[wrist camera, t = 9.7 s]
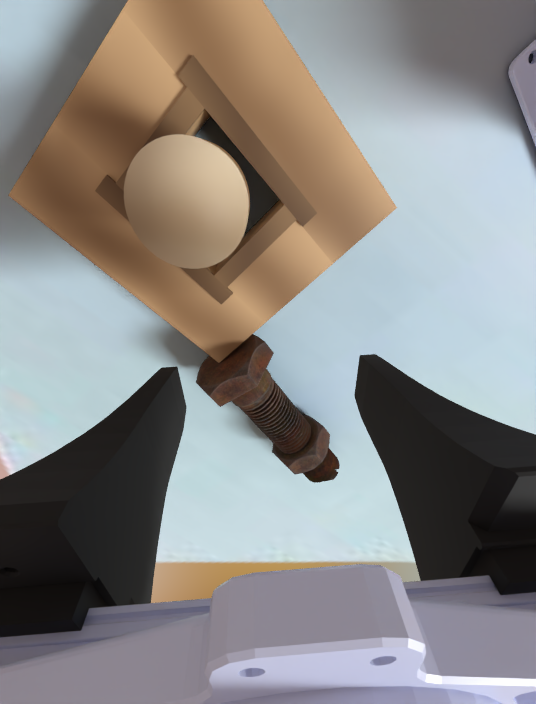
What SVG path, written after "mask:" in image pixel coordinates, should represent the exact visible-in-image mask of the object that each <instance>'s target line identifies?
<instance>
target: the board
mask: <svg viewBox="0 0 536 704" xmlns="http://www.w3.org/2000/svg"><path fill="white" fill-rule="evenodd" d="M210 116H211V117H212V118H213V119H214V120H215V122H216V123H217V124H218V125H219V126H220V128H221V129H222V130H223V131H224V133H225V134H226V135H227V136H228V137H229V139H230V140H231V141H232V142H233V143H234V145H235V146H236V147H237V148H238V149H239V151H240V152H241V153H242V154H243V155H244V157H245V158H246V159H247V160H248V162H249V163H250V164H251V165H252V166H253V168H254V169H255V170H256V171H257V172H258V174H259V175H260V176H261V177H262V178H263V180H264V181H265V182H266V183H267V184H268V186H269V187H270V188H271V189H272V191H273V192H274V193H275V194H276V195H277V197H278V198H279V199H280V200H279V201H278V202H277V203H276V204H275V205H274V206H273V207H272V208H271V209H270V210H269V211H268V212H267V213H266V214H265V215H264V216H263V217H262V218H261V219H260V220H259V221H258V222H257V223H256V224H255V225H254V226H253V227H252V228H251V229H250V230H249V231H248V232H247V233H246V234H245V235H244V236H243V238H242V239H241V242H240V243H239V245H238V246H237V248H236V249H235V250H234V251H233V252H232V253H231V254H230V255H229V256H228V257H227V258H226V259H224V260H223V261H221V262H219V263H217V264H215V265H213V266H209V267H206V268H200V269H189V268H182V267H177V266H175V265H172V264H169V263H167V262H165V261H163V260H161V259H160V258H158V257H157V256H155V255H154V254H153V253H152V252H150V251H149V250H148V249H147V248H146V247H145V246H144V245H143V243H142V242H141V241H140V240H139V238H138V237H137V235H136V234H135V232H134V230H133V228H132V226H131V224H130V222H129V219H128V216H127V213H126V209H125V203H124V183H125V178H126V174H127V171H128V168H129V166H130V164H131V162H132V160H133V159H134V157H135V156H136V154H137V153H138V152H139V151H140V150H141V149H142V148H143V147H144V146H146V145H147V144H148V143H150V142H151V141H153V140H155V139H157V138H160V137H163V136H167V135H175V134H183V135H190V136H195V135H196V134H197V132H198V131H199V130H200V129H201V127H202V126H203V125H204V124H205V122H206V121H207V120H208V119H209V117H210ZM8 196H10V197H11V198H12V199H13V200H15V201H16V202H17V203H18V204H20V205H21V206H22V207H23V208H25V209H26V210H27V211H28V212H30V213H31V214H32V215H33V216H35V217H36V218H37V219H38V220H40V221H41V222H42V223H43V224H45V225H46V226H47V227H49V228H50V229H51V230H52V231H54V232H55V233H56V234H57V235H59V236H60V237H61V238H62V239H64V240H65V241H66V242H67V243H69V244H70V245H71V246H72V247H74V248H75V249H76V250H77V251H79V252H80V253H81V254H82V255H84V256H85V257H86V258H88V259H89V260H90V261H91V262H93V263H94V264H95V265H96V266H98V267H99V268H100V269H101V270H103V271H104V272H105V273H106V274H108V275H109V276H110V277H111V278H113V279H114V280H115V281H116V282H118V283H119V284H120V285H121V286H123V287H124V288H125V289H127V290H128V291H129V292H130V293H132V294H133V295H134V296H135V297H137V298H138V299H139V300H140V301H142V302H143V303H144V304H145V305H147V306H148V307H149V308H150V309H152V310H153V311H154V312H155V313H157V314H158V315H159V316H160V317H162V318H163V319H164V320H165V321H167V322H168V323H169V324H171V325H172V326H173V327H174V328H176V329H177V330H178V331H179V332H181V333H182V334H183V335H184V336H186V337H187V338H188V339H189V340H191V341H192V342H193V343H194V344H196V345H197V346H198V347H199V348H201V349H202V350H203V351H204V352H206V353H207V354H208V355H210V356H211V357H212V358H213V359H215V360H216V361H217V362H218V363H220V362H221V361H222V360H223V359H224V358H225V357H226V356H228V355H229V354H230V353H231V352H232V351H233V350H235V349H236V348H237V347H238V346H239V345H240V344H241V343H243V342H244V341H245V340H246V339H247V338H248V337H249V336H251V335H252V334H253V333H254V332H255V331H256V330H257V329H259V328H260V327H261V326H262V325H263V324H264V323H265V322H267V321H268V320H269V319H270V318H271V317H272V316H273V315H275V314H276V313H277V312H278V311H279V310H280V309H281V308H283V307H284V306H285V305H286V304H287V303H288V302H290V301H291V300H292V299H293V298H294V297H295V296H296V295H298V294H299V293H300V292H301V291H302V290H303V289H304V288H306V287H307V286H308V285H309V284H310V283H311V282H312V281H314V280H315V279H316V278H317V277H318V276H319V275H320V274H322V273H323V272H324V271H325V270H326V269H327V268H328V267H330V266H331V265H332V264H333V263H334V262H335V261H336V260H338V259H339V258H340V257H341V256H342V255H343V254H345V253H346V252H347V251H348V250H349V249H350V248H351V247H353V246H354V245H355V244H356V243H357V242H358V241H359V240H361V239H362V238H363V237H364V236H365V235H366V234H367V233H369V232H370V231H371V230H372V229H373V228H374V227H375V226H377V225H378V224H379V223H380V222H381V221H382V220H383V219H385V218H386V217H387V216H388V215H389V214H390V213H391V212H393V211H394V210H395V209H396V208H397V207H396V206H395V204H394V203H393V201H392V199H391V198H390V196H389V195H388V193H387V192H386V190H385V189H384V187H383V186H382V184H381V182H380V181H379V179H378V178H377V176H376V175H375V173H374V172H373V170H372V169H371V167H370V165H369V164H368V162H367V161H366V159H365V158H364V156H363V155H362V153H361V152H360V150H359V148H358V147H357V145H356V144H355V142H354V141H353V139H352V138H351V136H350V135H349V133H348V132H347V130H346V128H345V127H344V125H343V124H342V122H341V121H340V119H339V118H338V116H337V115H336V113H335V111H334V110H333V108H332V107H331V105H330V104H329V102H328V101H327V99H326V98H325V96H324V94H323V93H322V91H321V90H320V88H319V87H318V85H317V84H316V82H315V81H314V79H313V77H312V76H311V74H310V73H309V71H308V70H307V68H306V67H305V65H304V64H303V62H302V60H301V59H300V57H299V56H298V54H297V53H296V51H295V50H294V48H293V47H292V45H291V43H290V42H289V40H288V39H287V37H286V36H285V34H284V33H283V31H282V30H281V28H280V26H279V25H278V23H277V22H276V20H275V19H274V17H273V16H272V14H271V13H270V11H269V9H268V8H267V6H266V5H265V3H264V2H263V0H128V1H127V3H126V4H125V6H124V8H123V9H122V11H121V13H120V14H119V16H118V17H117V19H116V21H115V22H114V24H113V26H112V27H111V29H110V31H109V32H108V34H107V35H106V37H105V39H104V40H103V42H102V44H101V45H100V47H99V48H98V50H97V52H96V53H95V55H94V57H93V58H92V60H91V61H90V63H89V65H88V66H87V68H86V70H85V71H84V73H83V75H82V76H81V78H80V79H79V81H78V83H77V84H76V86H75V88H74V89H73V91H72V92H71V94H70V96H69V97H68V99H67V101H66V102H65V104H64V106H63V107H62V109H61V110H60V112H59V114H58V115H57V117H56V119H55V120H54V122H53V123H52V125H51V127H50V128H49V130H48V132H47V133H46V135H45V136H44V138H43V140H42V141H41V143H40V145H39V146H38V148H37V150H36V151H35V153H34V154H33V156H32V158H31V159H30V161H29V163H28V164H27V166H26V167H25V169H24V171H23V172H22V174H21V176H20V177H19V179H18V180H17V182H16V184H15V185H14V187H13V189H12V190H11V192H10V194H9V195H8Z"/></svg>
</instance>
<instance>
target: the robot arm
mask: <svg viewBox="0 0 536 704" xmlns="http://www.w3.org/2000/svg"><path fill="white" fill-rule="evenodd" d="M531 52H532V54H533V60H532V62H531V63H529V62H528V58H529V55H530V53H531ZM508 73H509V78H510V81H511V83H512V86H513V88H514V91H515V94H516V96H517V99H518V101H519V104H520V107H521V109H522V112H523V115H524V117H525V120H526V122H527V125H528V128H529V130H530V133H531V136H532V138H533V141H534V143H535V146H536V39H535V40H534V41H533V42H532V43H531V44H530V45H529V46H528V47H527V48H525V49H524V50H523V51H522V52H521V53H520V54H519V55H518V56H517V57H516V58H515V59H514V60H513V61H512V63H511V65H510V67H509V71H508ZM355 399H356V403H357V406H358V409H359V412H360V415H361V418H362V420H363V423H364V425H365V427H366V429H367V431H368V433H369V435H370V437H371V440H372V442H373V444H374V446H375V448H376V450H377V452H378V454H379V456H380V458H381V460H382V463H383V465H384V467H385V469H386V472H387V474H388V477H389V480H390V482H391V485H392V488H393V491H394V494H395V497H396V500H397V503H398V506H399V509H400V512H401V515H402V518H403V521H404V524H405V527H406V531H407V534H408V537H409V541H410V544H411V547H412V551H413V554H414V557H415V561H416V565H417V568H418V572H419V576H420V579H421V581H416V582H402V580H401V577H400V576H399V575H398V574H396V573H394V572H392V571H391V570H388V569H386V568H385V567H383V566H380V565H363V564H359V565H358V564H357V565H345V566H332V567H320V568H307V569H295V570H282V571H270V572H258V573H251V574H246V575H242V576H238V577H232V578H231V579H229V580H228V581H226V582H224V583H223V584H221V585H220V586H218V587H217V588H216V589H215V590H214V591H213V595H212V598H209V599H197V600H184V601H172V602H161V603H151V595H152V586H153V577H154V569H155V562H156V554H157V546H158V540H159V533H160V527H161V520H162V514H163V508H164V502H165V496H166V491H167V487H168V482H169V479H170V475H171V472H172V468H173V465H174V461H175V457H176V454H177V450H178V447H179V443H180V440H181V436H182V432H183V428H184V421H185V414H186V403H185V399H184V395H183V390H182V386H181V381H180V377H179V373H178V368H177V367H166V368H161V369H160V370H158V371H157V372H156V373H155V374H154V375H153V376H152V377H151V378H150V379H149V380H148V381H147V382H146V383H145V384H144V385H143V386H142V387H141V388H140V389H138V390H137V391H136V392H135V393H134V394H133V395H132V396H131V397H130V398H129V399H128V400H126V401H125V402H124V403H123V404H122V405H121V406H119V407H118V408H117V409H116V410H115V411H113V412H112V413H111V414H110V415H109V416H107V417H106V418H105V419H104V420H102V421H101V422H100V423H98V424H97V425H95V426H94V427H93V428H91V429H90V430H88V431H87V432H86V433H84V434H83V435H81V436H80V437H78V438H76V439H75V440H73V441H71V442H70V443H68V444H67V445H65V446H63V447H62V448H60V449H59V450H57V451H55V452H54V453H52V454H50V455H48V456H46V457H45V458H43V459H41V460H39V461H37V462H35V463H33V464H31V465H29V466H28V467H26V468H24V469H22V470H20V471H18V472H16V473H14V474H12V475H9V476H7V477H5V478H3V479H1V480H0V704H536V435H535V434H532V433H529V432H526V431H523V430H520V429H517V428H514V427H511V426H508V425H505V424H503V423H500V422H497V421H495V420H492V419H490V418H487V417H485V416H482V415H480V414H478V413H475V412H473V411H471V410H469V409H466V408H464V407H462V406H460V405H458V404H456V403H454V402H452V401H450V400H448V399H446V398H444V397H442V396H441V395H439V394H437V393H435V392H434V391H432V390H430V389H428V388H427V387H425V386H423V385H422V384H420V383H418V382H417V381H415V380H414V379H412V378H411V377H409V376H407V375H406V374H404V373H403V372H401V371H400V370H398V369H397V368H396V367H394V366H393V365H391V364H390V363H388V362H387V361H385V360H384V359H382V358H381V357H379V356H377V355H375V354H373V355H360V358H359V366H358V374H357V381H356V389H355Z"/></svg>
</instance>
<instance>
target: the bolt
mask: <svg viewBox="0 0 536 704" xmlns="http://www.w3.org/2000/svg"><path fill="white" fill-rule="evenodd" d="M272 355H273V352H272V350H271V349H270V348H269V346H268V345H267V344H266V343H265V341H263V340H262V339H260V338H259V337H257V336H255V335H253V334H252V335H251V336H249V337H248V338H247V339H246V340H245V341H244V342H243V343H241V344H240V345H239V346H238V347H237V348H236V349H235V350H233V351H232V352H231V353H230V354H229V355H228V356H226V357H225V358H224V359H223V360H222V361H221V362H220V363H218V362H217V361H216V360H215V359H213V358H212V357H211V356H210V355H209V356H208V357H207V358H206V359H205V361H204V362H203V363H202V365H201V367H200V369H199V372H198V376H197V380H196V383H197V384H198V385H199V386H200V387H201V388H202V389H203V390H204V391H205V392H206V393H207V394H208V395H209V396H210V397H211V398H212V399H213V400H214V401H215V402H216V403H217V404H218V405H219V406H220V407H221V406H223V405H224V404H226V403H228V402H230V401H232V402H233V403H234V404H235V405H236V406H239V407H240V408H241V409H242V410H243V411H244V412H245V414H247V415H248V417H250V419H251V420H252V421H253V422H254V423H255V424H256V425H257V426H258V427H259V428H260V429H261V430H262V432H264V433H265V435H266V436H267V437H269V439H270V440H271V441H272V442H273V450H272V452H273V453H274V454H275V455H276V456H277V457H278V458H279V459H280V460H281V461H282V462H283V463H284V464H285V465H286V466H287V467H288V468H289V469H290V470H291V471H292V472H293V473H294V474H300V473H303V474H304V475H305V476H306V477H307V478H308V479H309V480H310V481H312V482H322V481H328V480H333V479H334V478H335V477H336V476H337V474H338V472H336V471H337V470H335V469H339V461H338V459H337V457H336V456H335V455H334V454H333V453H332V451H331V450H330V449H329V439H330V434H329V433H328V432H327V430H326V429H325V428H324V427H323V426H322V425H321V424H320V423H318V422H317V421H316V420H314V419H313V418H311V417H310V416H307V415H304V416H303V415H302V414H301V413H300V412H299V411H298V410H297V408H296V407H295V406H294V405H293V403H292V402H291V401H290V400H289V399H288V397H287V396H286V395H285V393H284V392H283V391H282V390H281V389H280V387H279V386H278V385H277V384H276V383H275V381H274V380H273V379H272V377H271V375H270V373H269V372H268V371H267V369H266V368H267V366H268V364H269V362H270V360H271V357H272Z"/></svg>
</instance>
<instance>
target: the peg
mask: <svg viewBox="0 0 536 704" xmlns="http://www.w3.org/2000/svg"><path fill="white" fill-rule="evenodd" d="M124 203H125V209H126V213H127V216H128V219H129V222H130V224H131V226H132V228H133V230H134V232H135V234H136V235H137V237H138V238H139V240H140V241H141V242H142V243H143V245H144V246H145V247H146V248H147V249H148V250H149V251H150V252H152V253H153V254H154V255H155V256H157V257H158V258H160V259H161V260H163V261H165V262H167V263H169V264H172V265H175V266H177V267H182V268H189V269H200V268H206V267H209V266H213V265H215V264H217V263H219V262H221V261H223V260H224V259H226V258H227V257H228V256H229V255H230V254H231V253H232V252H233V251H234V250H235V249H236V248H237V246H238V245H239V243H240V242H241V239H242V237H243V235H244V233H245V230H246V226H247V221H248V216H249V211H250V194H249V188H248V184H247V181H246V178H245V176H244V174H243V172H242V170H241V168H240V166H239V165H238V164H237V162H236V161H235V159H234V158H233V157H232V156H231V155H230V154H229V153H228V152H226V151H225V150H224V149H223V148H221V147H220V146H218V145H216V144H214V143H212V142H210V141H207V140H204V139H201V138H197V137H194V136H190V135H183V134H175V135H167V136H163V137H160V138H157V139H155V140H153V141H151V142H150V143H148V144H147V145H146V146H144V147H143V148H142V149H141V150H140V151H139V152H138V153H137V154H136V156H135V157H134V159H133V160H132V162H131V164H130V166H129V168H128V171H127V174H126V178H125V183H124Z"/></svg>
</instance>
